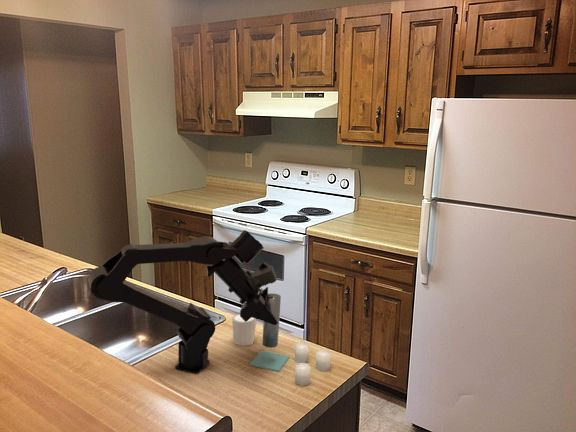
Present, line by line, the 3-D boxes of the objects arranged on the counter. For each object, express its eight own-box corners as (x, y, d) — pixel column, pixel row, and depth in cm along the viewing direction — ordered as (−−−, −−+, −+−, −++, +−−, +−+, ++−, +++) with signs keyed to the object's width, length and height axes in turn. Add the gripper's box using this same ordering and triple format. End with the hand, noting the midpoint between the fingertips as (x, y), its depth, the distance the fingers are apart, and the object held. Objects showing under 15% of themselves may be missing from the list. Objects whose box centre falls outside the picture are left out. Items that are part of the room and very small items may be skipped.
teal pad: (249, 365, 124) (249, 363, 124) (261, 351, 132) (261, 350, 132) (279, 371, 122) (279, 370, 122) (289, 357, 129) (289, 356, 129)
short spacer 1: (292, 361, 127) (293, 347, 126) (296, 355, 131) (297, 341, 130) (305, 364, 126) (306, 349, 125) (309, 358, 129) (310, 344, 129)
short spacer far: (314, 369, 124) (314, 354, 123) (317, 363, 127) (318, 348, 126) (327, 372, 123) (328, 357, 122) (331, 365, 126) (332, 351, 125)
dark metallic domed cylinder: (259, 345, 124) (262, 297, 122) (265, 339, 128) (268, 292, 126) (274, 348, 123) (277, 300, 121) (280, 342, 127) (282, 295, 124)
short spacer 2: (295, 385, 116) (295, 370, 115) (294, 377, 119) (295, 362, 118) (310, 385, 116) (310, 370, 115) (309, 377, 119) (310, 362, 118)
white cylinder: (226, 342, 136) (227, 319, 135) (240, 333, 142) (240, 311, 141) (247, 348, 133) (248, 324, 132) (260, 339, 139) (261, 316, 138)
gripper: (256, 267, 112) (301, 314, 114) (260, 246, 130) (299, 287, 133) (220, 297, 113) (266, 344, 116) (230, 273, 132) (269, 313, 134)
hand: (276, 320), depth 124 cm, fingers closed on dark metallic domed cylinder, 4 cm apart
